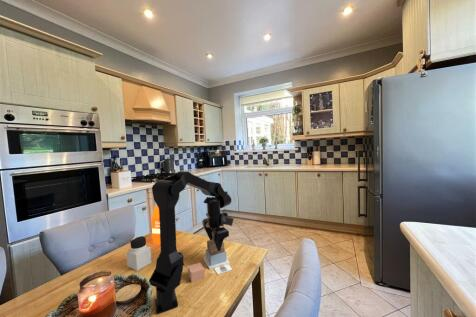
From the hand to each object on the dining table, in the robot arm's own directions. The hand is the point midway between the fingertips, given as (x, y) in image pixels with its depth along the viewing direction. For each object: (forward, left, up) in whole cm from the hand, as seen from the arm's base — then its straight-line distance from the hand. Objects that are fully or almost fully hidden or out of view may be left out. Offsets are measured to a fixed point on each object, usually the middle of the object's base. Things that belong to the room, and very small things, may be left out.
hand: (215, 246), depth 89 cm
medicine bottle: (+15, +30, -7) cm, 35 cm away
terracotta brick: (-6, +10, -7) cm, 14 cm away
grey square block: (0, 0, -7) cm, 7 cm away
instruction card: (-7, -1, -7) cm, 10 cm away
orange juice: (+34, +18, -7) cm, 39 cm away
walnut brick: (0, 0, -2) cm, 2 cm away
